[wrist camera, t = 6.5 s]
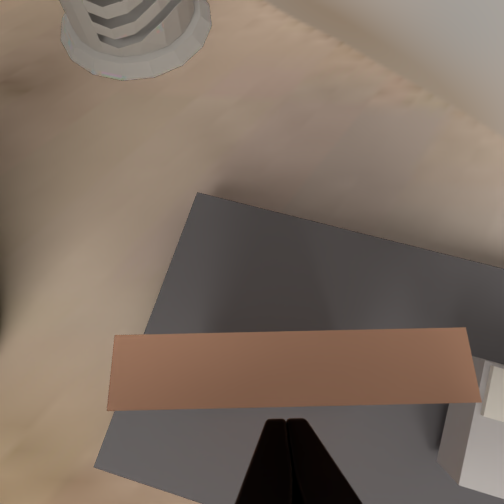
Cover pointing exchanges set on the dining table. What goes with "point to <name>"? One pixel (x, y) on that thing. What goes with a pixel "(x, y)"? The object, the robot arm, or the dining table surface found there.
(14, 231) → the dining table surface
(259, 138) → the dining table surface
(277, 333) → the tan rectangular board
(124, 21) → the french press
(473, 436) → the rocker switch
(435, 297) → the control console
